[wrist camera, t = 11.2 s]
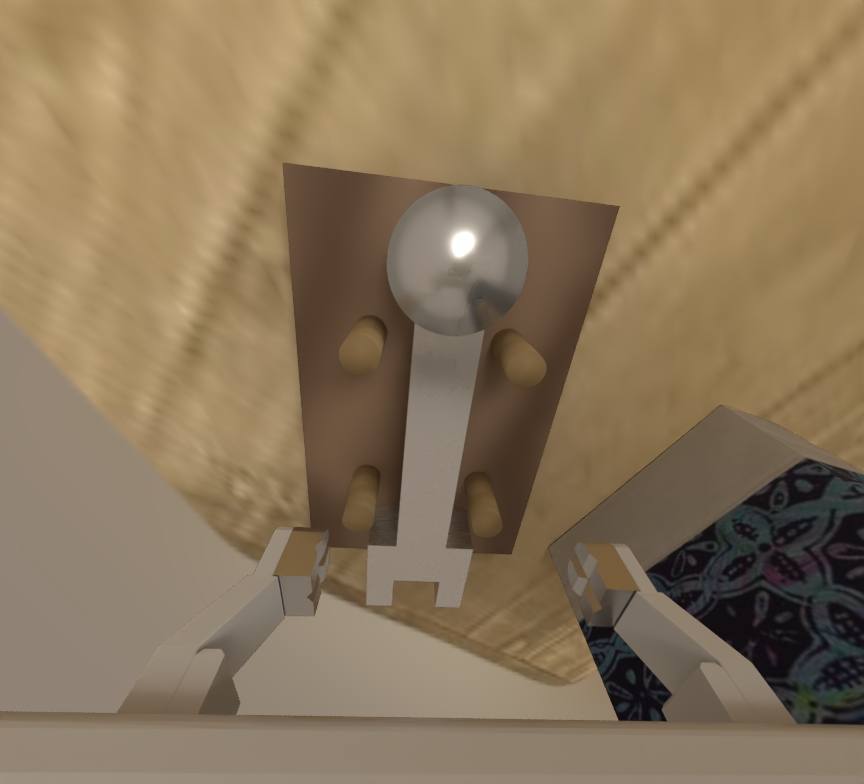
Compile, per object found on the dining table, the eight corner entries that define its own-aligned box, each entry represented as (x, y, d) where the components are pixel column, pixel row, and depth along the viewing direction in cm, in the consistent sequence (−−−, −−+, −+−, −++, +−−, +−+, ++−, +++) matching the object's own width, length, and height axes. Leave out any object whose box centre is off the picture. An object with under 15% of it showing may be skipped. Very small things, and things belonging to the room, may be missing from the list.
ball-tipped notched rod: (385, 184, 13) (377, 173, 11) (528, 202, 14) (555, 196, 11) (372, 562, 24) (366, 605, 21) (455, 565, 24) (459, 607, 21)
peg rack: (602, 208, 15) (677, 200, 11) (506, 536, 25) (525, 603, 21) (295, 168, 14) (239, 141, 10) (318, 528, 24) (295, 597, 20)
